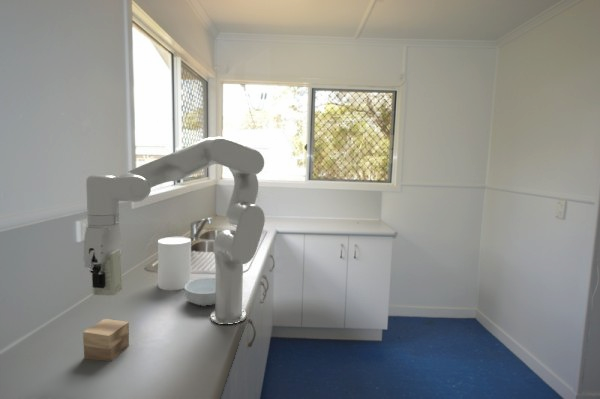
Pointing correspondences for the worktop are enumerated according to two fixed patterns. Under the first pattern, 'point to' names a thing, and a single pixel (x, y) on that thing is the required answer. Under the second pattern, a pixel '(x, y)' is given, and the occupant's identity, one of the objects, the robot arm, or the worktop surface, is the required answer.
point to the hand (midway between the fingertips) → (105, 283)
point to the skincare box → (111, 275)
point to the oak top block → (106, 334)
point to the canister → (174, 262)
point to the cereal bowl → (201, 291)
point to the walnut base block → (106, 351)
